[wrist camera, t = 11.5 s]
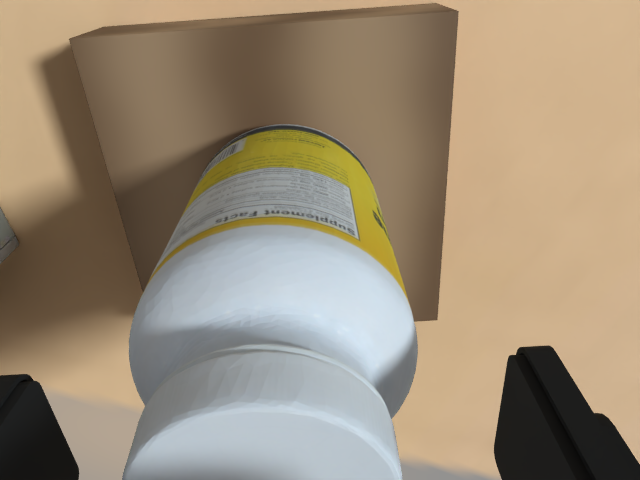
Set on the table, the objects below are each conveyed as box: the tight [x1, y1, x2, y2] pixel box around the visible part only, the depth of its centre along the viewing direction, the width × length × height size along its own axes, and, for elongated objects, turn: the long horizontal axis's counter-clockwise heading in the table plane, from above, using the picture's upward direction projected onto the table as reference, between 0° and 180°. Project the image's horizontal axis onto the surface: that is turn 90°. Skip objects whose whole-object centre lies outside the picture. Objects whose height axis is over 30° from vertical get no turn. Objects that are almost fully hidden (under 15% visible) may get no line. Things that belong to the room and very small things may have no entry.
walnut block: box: [69, 3, 458, 321], centre depth 20 cm, size 12×12×3 cm
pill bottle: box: [122, 124, 418, 480], centre depth 13 cm, size 6×6×12 cm
